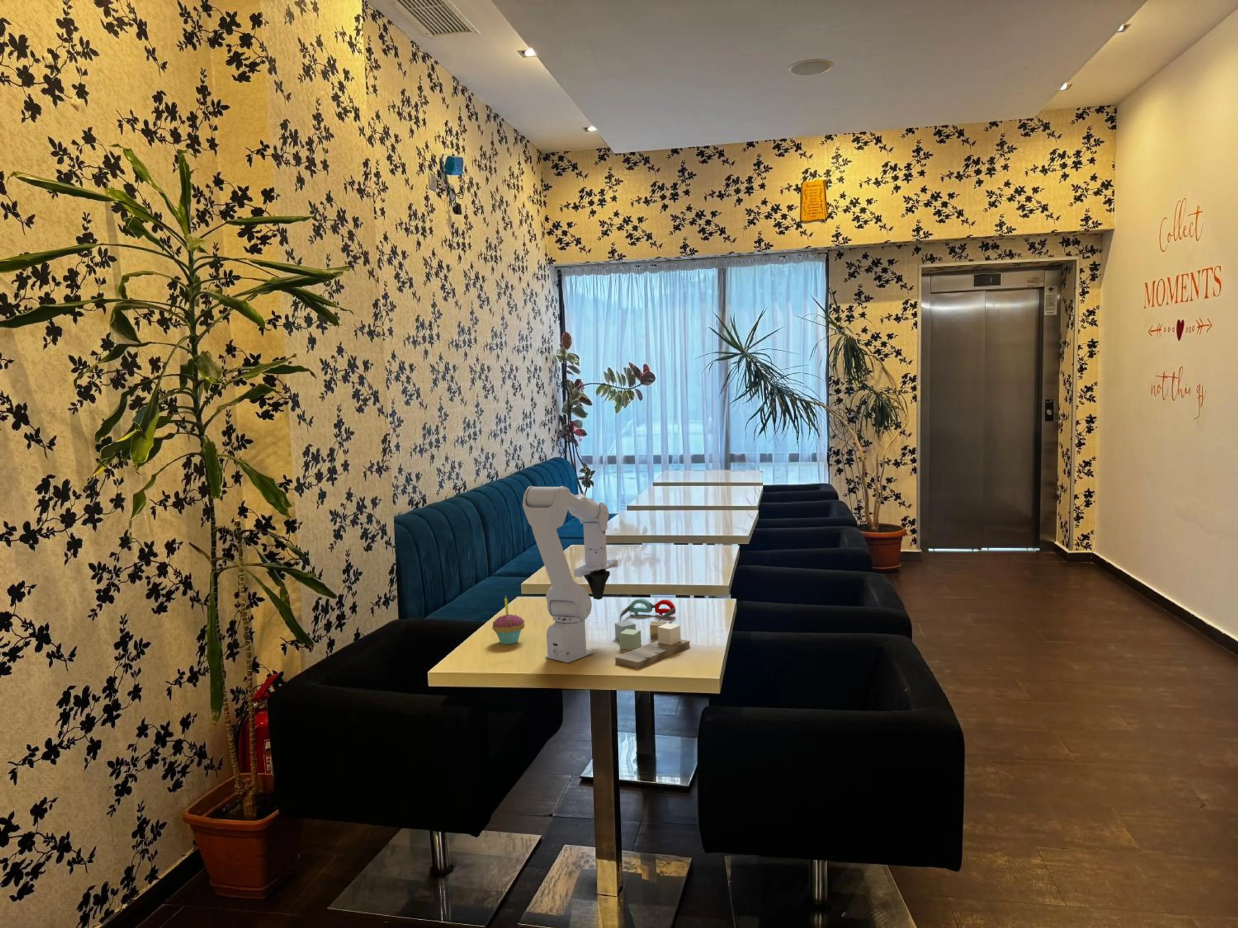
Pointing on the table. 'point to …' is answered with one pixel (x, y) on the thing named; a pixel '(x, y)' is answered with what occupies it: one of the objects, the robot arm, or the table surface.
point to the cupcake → (508, 627)
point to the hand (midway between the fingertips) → (598, 598)
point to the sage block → (630, 639)
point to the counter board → (650, 653)
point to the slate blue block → (623, 627)
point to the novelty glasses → (649, 608)
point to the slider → (669, 634)
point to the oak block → (655, 629)
